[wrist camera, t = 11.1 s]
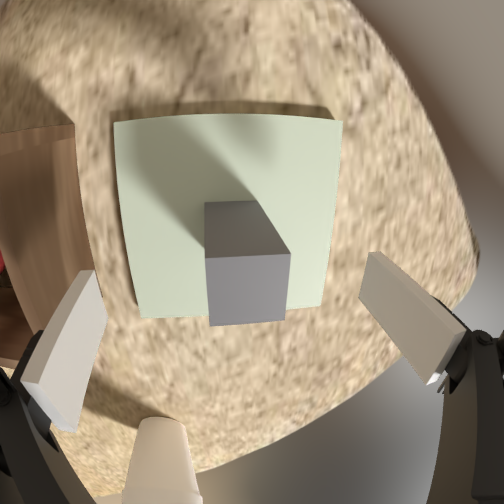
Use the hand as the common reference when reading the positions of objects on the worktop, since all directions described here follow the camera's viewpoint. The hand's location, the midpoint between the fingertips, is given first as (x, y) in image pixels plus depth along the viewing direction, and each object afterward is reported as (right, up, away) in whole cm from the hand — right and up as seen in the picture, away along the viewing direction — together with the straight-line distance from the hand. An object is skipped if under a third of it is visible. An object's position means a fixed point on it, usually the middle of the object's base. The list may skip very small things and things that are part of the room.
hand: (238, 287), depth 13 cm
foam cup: (-11, -22, +18) cm, 31 cm away
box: (-19, +4, +4) cm, 19 cm away
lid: (-1, +4, +8) cm, 9 cm away
